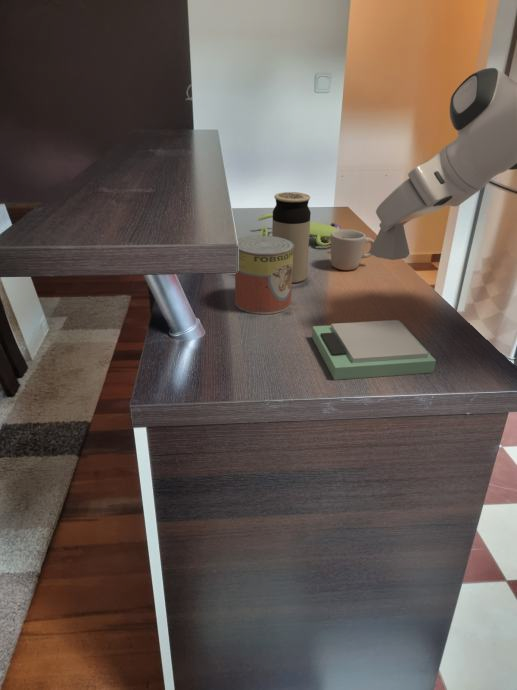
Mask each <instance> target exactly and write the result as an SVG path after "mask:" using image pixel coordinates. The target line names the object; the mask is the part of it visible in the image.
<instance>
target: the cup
mask: <svg viewBox="0 0 517 690" xmlns="http://www.w3.org/2000/svg"><path fill="white" fill-rule="evenodd" d="M374 241H375V239H372V237H367V236H366V234H365V233H364V232H362V231H359V230H355V229H340V230H336V231H333V232H332V233H331V244H330V262H331V265H332V267H333V268H334V269H337V270H341V271H353V270H356V269H357V268H359V266H360V264H361V260H363V259H365V258H370V257H371V256H373V255H372V254H370V253H369V251H368V252H366V253H365V252H364V249H365V246H366V244H367V243H370V248H371V247H372V245H373V243H374Z"/></svg>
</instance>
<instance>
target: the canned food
mask: <svg viewBox="0 0 517 690" xmlns="http://www.w3.org/2000/svg"><path fill="white" fill-rule="evenodd" d="M237 240H238V245H239V271H238V273H236V274H235V273H234V290H235V291H234V293H235V294H234V295H235V297H234V298H235V299H234V304H235V306H236V308H238V309H239V310H241V311H243V312H246V313H249V314H254V315H273V314H279V313H282V312H284V311H287V310H288V309H290V307H291V306H292V285H293V283H292V268H293V248H294V244H293V242H291V241H290V240H288V239H285V238H281V237H275V236H272V235H267V236H265V235H263V236H259V235H251V236H246V237H242V238H239V239H237Z"/></svg>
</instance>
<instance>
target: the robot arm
mask: <svg viewBox="0 0 517 690" xmlns="http://www.w3.org/2000/svg"><path fill="white" fill-rule="evenodd" d="M449 119H450V122H451V124H452V126H453V128H454V129H455V130H456V133H457V136H456V138H455V139H454V140H453V141H451V142H449V143H448V144H447V145H446V146H444V147H443V148H442V149H441V150H440V151H439V152H437V153H436V154H434V155H433V156H432V157H431V158H429V159H428V160H427V161H424V162H422V163H420V164H418V165H417V166H415V167H414V168H413V169H411V170H410V171H409V172H408V173H407V176H408V178H407V179H405V180H404V181H403V182H402V183H401V184H399V185H398V186H397V187H396V188H395V189H394V190H392V192H391V193H390V194H389V195H388V196H387V197H386V198H384V200H383V201H382V202H381V203H380V204H379V205H378V206H377V208H376V210H375V214H376V216H377V218H378V219H379V221H380V223H379V228H380V229H381V230H382V231H383V232H386V231H389V230H390V229H392V228H393V227H394V226H395V225H397V224H400V223H403V225H404V226H405V225H406V224H407V223H408V222H411V221H412V220H415V219H418V218H420V217H423V216H426V215H429V214H432V213H435V212H438V211H441V210H442V209H444V208H445V207H447V206H450V207H458V206H460V205H462V204H463V203H464V202H465V201H467V200H468V199H470V198H472V197H473V196H474V195H475V194H477V193H478V192H479V191H481V190H482V189H484V187H486V186H487V185H488V183H489V182H490V181H491V180H492V179H493V178H494V177H496V176H497V175H500V174H502V173H505V172H506V171H508V170H510V171H511V170H514V171H515V170H517V82H516V81H514V80H513V79H512V78H510V76H508V75H507V74H506V73H504V72H503V71H501V70H499V69H497V68H495V67H488V68H484V69H483V68H482V69H480V70H478V71H476V72H474V73H471V74H470V75H469V76H468V77H466V78H465V80H463V81H462V82H461V83H460V84H459V85H458V86H457V88H456V89H455V91H454V92H453V93H452V95H451V97H450V103H449Z"/></svg>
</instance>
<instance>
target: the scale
mask: <svg viewBox="0 0 517 690" xmlns="http://www.w3.org/2000/svg"><path fill="white" fill-rule="evenodd" d="M311 339H312V340H313V343H314V344H315V347H316V348H317V350H318V352H319V355H320V356H321V358H322V359H323V362H324V364H325V365H326V367H327V369H328V371H329V373H330V375H331V376H332V378H333V380H334V381H339V380H341V381H342V380H353V379H367V378H379V377H380V378H381V377H392V376H393V377H394V376H406V375H408V376H409V375H419V374H433V373H434V372H435V369H436V364H437V363H436V362H437V360H436V358H434V357H433V356H432V354H431V353H430V352H429V351H428V350H427V349H426V348H425V347H424V345H422V343H420V341H419V340H418V338H416V337H415V336H414V334H413V333H412V332H411V331H410V330H409V329H408V327H406V325H404V324H403V322H402V321H400V320H398V319H391V320H390V319H389V320H374V321H373V320H371V321H357V322H340V323H330V325H313V326H312V329H311Z"/></svg>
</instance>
